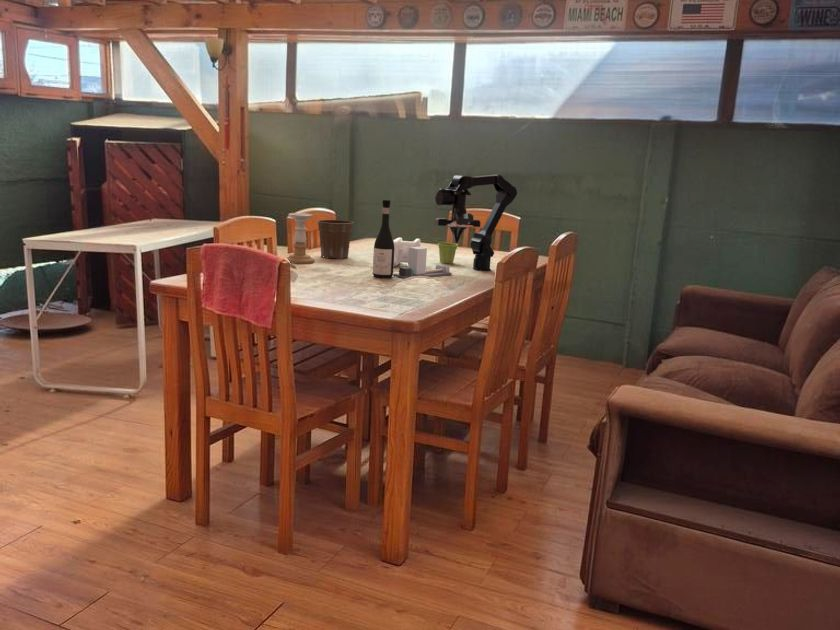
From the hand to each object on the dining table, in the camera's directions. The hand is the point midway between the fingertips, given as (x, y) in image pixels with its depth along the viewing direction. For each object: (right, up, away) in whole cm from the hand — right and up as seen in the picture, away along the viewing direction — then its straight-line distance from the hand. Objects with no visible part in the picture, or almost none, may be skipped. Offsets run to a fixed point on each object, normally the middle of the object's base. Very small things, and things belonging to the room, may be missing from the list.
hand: (456, 242), depth 307 cm
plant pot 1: (-54, -5, +20) cm, 58 cm away
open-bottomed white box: (-17, -14, -16) cm, 27 cm away
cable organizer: (-22, -9, +8) cm, 25 cm away
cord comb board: (-14, -15, -14) cm, 25 cm away
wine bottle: (-30, -16, -22) cm, 41 cm away
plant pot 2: (-3, -7, +23) cm, 24 cm away
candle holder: (-67, -8, +2) cm, 67 cm away
